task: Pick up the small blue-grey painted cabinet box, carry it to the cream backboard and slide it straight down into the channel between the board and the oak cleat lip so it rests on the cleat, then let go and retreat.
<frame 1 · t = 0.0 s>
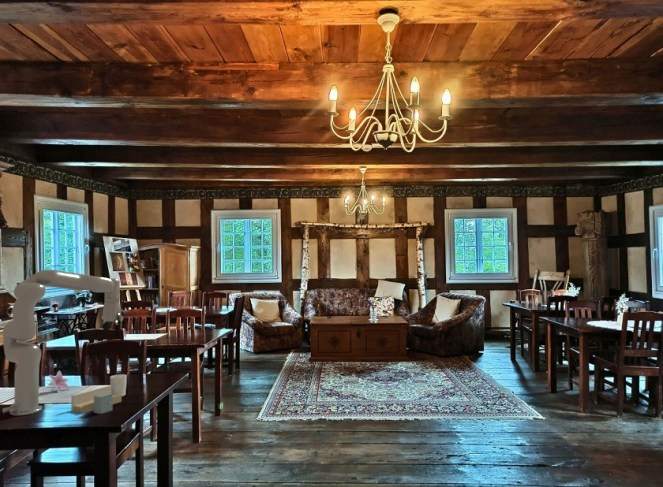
hand: (112, 331, 259), 31 cm above the table, tool pointing down, fingers open, 9 cm apart
lily: (58, 391, 255), on the table
cabinet: (103, 411, 217), on the table
cleat board: (91, 405, 227), on the table
white cup: (118, 395, 243), on the table
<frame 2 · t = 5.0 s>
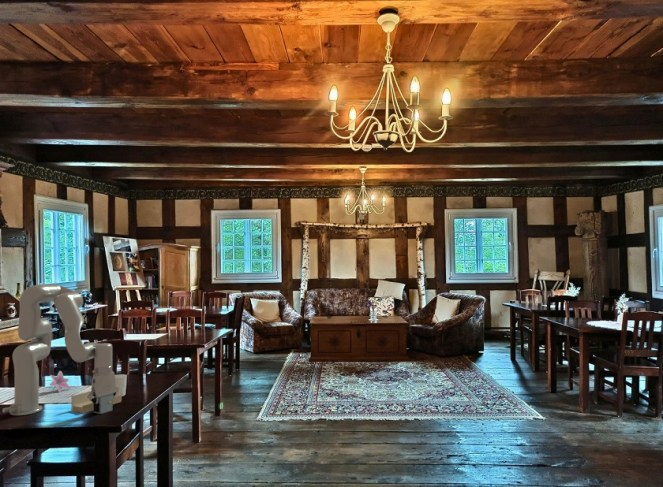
hand: (103, 409, 217), 1 cm above the table, tool pointing down, fingers closed on cabinet, 6 cm apart
cabinet: (103, 411, 217), on the table, touching gripper
when the fingers open (4 cm above the table, at t = 9.3 s): cabinet stays where it is, resting on cleat board.
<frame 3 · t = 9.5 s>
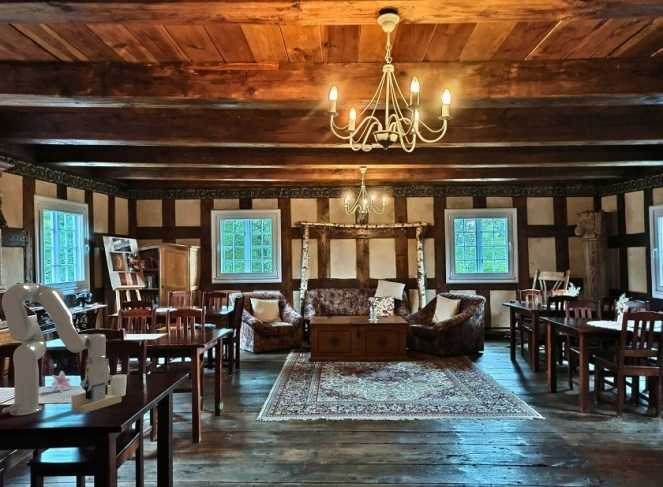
hand: (96, 396, 225), 5 cm above the table, tool pointing down, fingers open, 8 cm apart
cabinet: (96, 400, 225), point 2 cm above the table, touching cleat board
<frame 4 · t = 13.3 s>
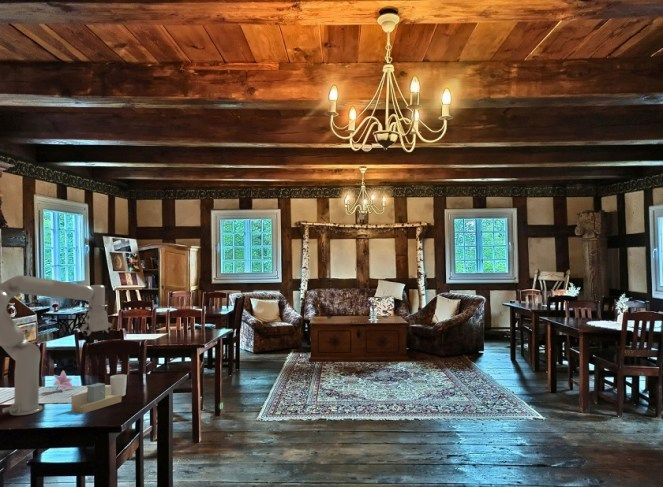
hand: (96, 341, 242), 28 cm above the table, tool pointing down, fingers open, 9 cm apart
at the end: cabinet inside the target area on the cleat board (0.2 cm from its centre), point 2.5 cm above the cleat board's base; cabinet tilted 0°; the gripper is holding nothing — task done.
